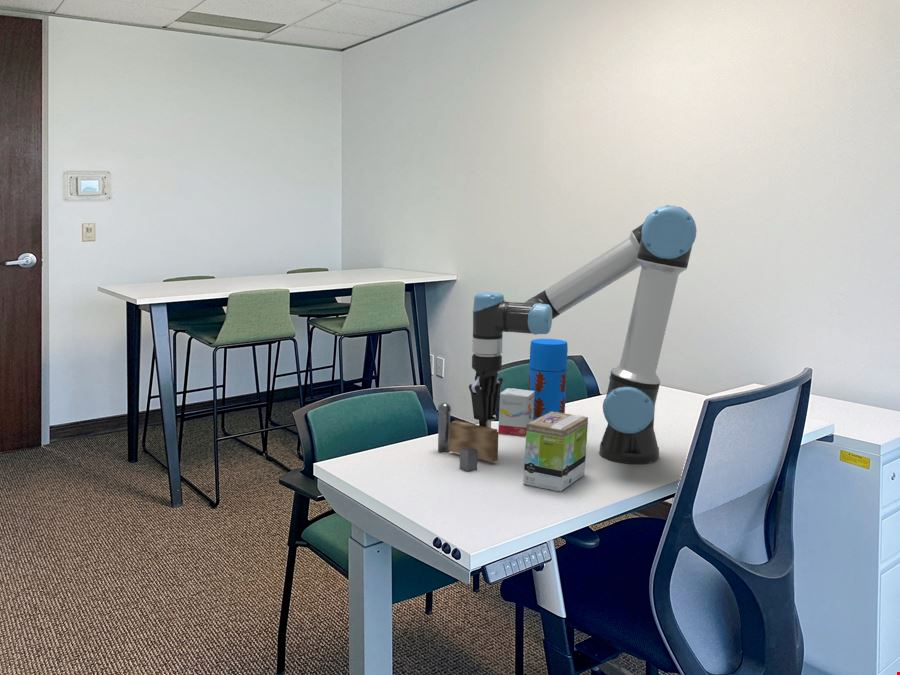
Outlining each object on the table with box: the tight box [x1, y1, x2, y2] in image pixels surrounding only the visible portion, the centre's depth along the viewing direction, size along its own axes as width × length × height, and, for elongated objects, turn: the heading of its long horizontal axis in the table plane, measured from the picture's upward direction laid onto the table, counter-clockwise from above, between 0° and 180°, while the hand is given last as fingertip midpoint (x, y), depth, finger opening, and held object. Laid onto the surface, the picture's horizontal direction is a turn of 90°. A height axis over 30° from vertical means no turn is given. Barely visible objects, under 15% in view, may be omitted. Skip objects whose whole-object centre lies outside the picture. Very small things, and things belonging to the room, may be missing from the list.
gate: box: [449, 420, 500, 463], centre depth 206 cm, size 14×2×8 cm, turn 52°
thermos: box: [528, 338, 569, 420], centre depth 239 cm, size 11×11×25 cm
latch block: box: [459, 447, 478, 473], centre depth 198 cm, size 3×3×5 cm
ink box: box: [497, 387, 535, 437], centre depth 232 cm, size 9×9×12 cm
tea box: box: [522, 411, 589, 492], centre depth 191 cm, size 15×10×15 cm
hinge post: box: [437, 402, 452, 453], centre depth 212 cm, size 3×3×13 cm
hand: (484, 444), depth 209 cm, fingers closed
